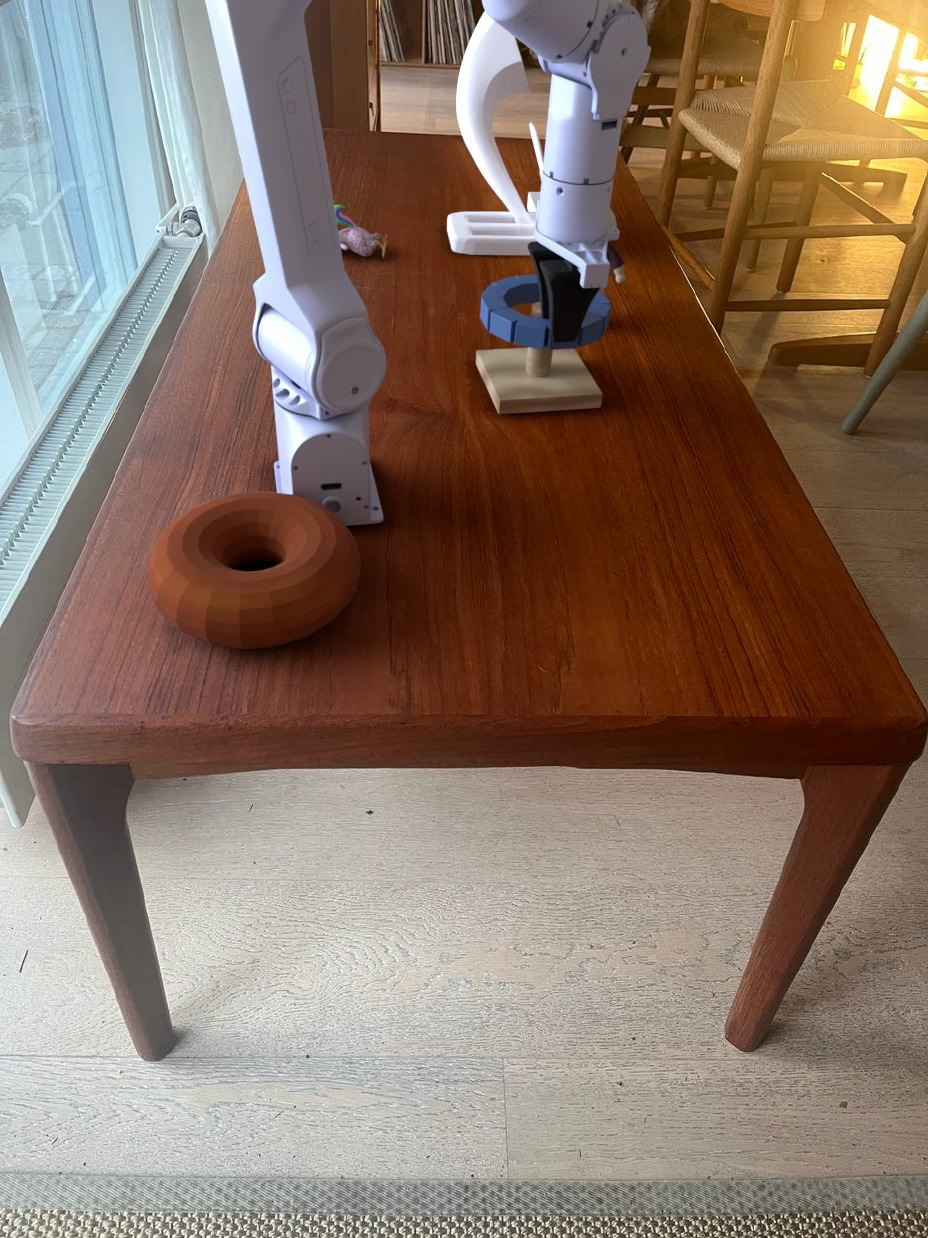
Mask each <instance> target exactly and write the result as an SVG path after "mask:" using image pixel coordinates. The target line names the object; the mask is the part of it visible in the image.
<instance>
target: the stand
mask: <svg viewBox="0 0 928 1238" xmlns="http://www.w3.org/2000/svg"><path fill="white" fill-rule="evenodd" d="M530 316H531V317H537V318H542V315H541V306H540V302H537V303H532V305H531V311H530ZM475 365H476V368H477V370H478V372H479V374H480V376H481V378H482V381H483V383H484V385H485V388H486V389H487V392H488V394H489V396H490V399H491V401H492V403H493V405H494V407H495V409H496V412H497V414H498V415H510V414H525V413H527V414H528V413H540V412H542V413H543V412H555V411H570V410H585V409H600V408H601V407H602V401H603V395H604V393H603V392H602V391H601V388H600V387H599V385H598V384H597V382H596V380H595V379H594V377H593V376H592V374H591V372H590V371H589V369H588V368H587V366H586V364H585V363H584V362H583V359H582V358H581V356H580V355H579V353H578V352H577V350H576V348H573V349H558V350H548V349H547V347H546V346H545V348H544V349H543V350H542V349H537V348H531V347H513V348H496V349H495V348H494V349H477V350H476V352H475Z"/></svg>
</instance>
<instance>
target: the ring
mask: <svg viewBox="0 0 928 1238" xmlns="http://www.w3.org/2000/svg"><path fill="white" fill-rule="evenodd" d="M480 298H481V299H480V313H479V318H480V320H481V322H482V324H483V326H484V328H485V329H486V331H489V334H492V335H493V336H495V337H497V338H499V339H501V340H503V341H506V343H509V344H511V343H513V345H515V346H516V345H517V346H519V347H520V346H521V347H525V348H528V347H531V348H537V349H542V350H543V349H544V348H545V346H546V347H547V349H548V350H558V349H573V348H574V349H578V347H579V348H583V347H585V346H587V345H590V344H592V343H595V342H597V341H599V340H601V338H604V336H605V334H606V332H607V330H608V327H609V323H610V316H611V310H612V305H611V304H612V303H611V302H610V300H609V299H608V297H607V296H606V295H605V293H604V294H603V292H602V291H598V293H597V294H596V296H595V297H594V299H593V301H592V303H591V304H590V306H589V309H588V311H587V313H586V316H585V318H584V321H583V323H582V326H581V328H580V331H579V333H578V336H577V338H576V340H575V341H574V342H557V343H554V342H553V341H552V339H551V334H550V327H549V319H543V318H537V317H531V315H525V314H524V313H521V312H519V311H517V310H515V309H514V307H517V306H520V305H523V304H524V305H525V304H534V303H537V302H540V296H539V287H538V281H537V276H536V274H520V275H515V277H514V276H508V277H506V278H503V279H499V280H497V281H493V282H492V283H491V284H489V285H488V286H487V287H486V289H485V290H484V292H483V293H482V294H481V297H480Z"/></svg>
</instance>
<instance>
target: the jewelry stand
mask: <svg viewBox="0 0 928 1238" xmlns="http://www.w3.org/2000/svg"><path fill="white" fill-rule="evenodd" d="M524 65H525V64H524V62H523V58H522V55H521V52H520V49H519V46H518V42H517V38H516V37H515V36H513V35H512V34H511V33H509V32H508V31H507V30H506V29H504V28H503V27H502V26H500V25H499V24H498V23H497V22H495V21H494V20H493V19H491V18H490V17H489V16H488V15H487V13H486V12H485V10H484V12H482V15H481V16H480V18H479V20H478V23H477V24H476V26H475V28H474V30H473V32H472V35H471V37H470V40H469V42H468V44H467V47H466V49H465V52H464V54H463V58H462V62H461V65H460V69H459V73H458V78H457V85H456V94H455V95H456V99H455V108H456V109H455V110H456V118H457V123H458V126H459V130H460V133H461V137H462V139H463V142H464V144H465V145H466V148H467V150H468V151H469V153H470V155H471V157H472V159H473V161H474V163H475V165H476V166H477V168H478V170H479V172H480V173H481V175H482V177H483V178H484V179H485V181H486V183H487V184H488V185H489V187H490V188H491V189H492V190H493V192H494V193H495V194H496V196H497V197H498V198H499V199H500V200H501V201H502V203H503V204H504V206H505V207H506V208H507V210H508V211H458V212H452V213H449V214H448V215H447V221H446V232H447V236H448V240H449V244H450V249H451V251H452V252H454V253H456V254H464V255H470V256H471V255H472V256H531V255H530V253H529V250H528V244H529V243H530V242H534V241H536V239H535V237H534V230H535V223H536V221H535V219H536V209H537V199H540V192H541V191H528V193H527V194H528V195H527V205H526V206H527V207H526V208H525V205H524V203H523V200H522V199H521V196H520V194H519V193H518V190H517V189H516V186H515V184H514V183H513V181H512V178H511V177H510V175H509V172H508V170H507V168H506V165H505V163H504V161H503V158H502V156H501V153H500V151H499V148H498V144H497V143H496V138H495V134H494V127H493V118H494V113H495V110H496V108H497V106H498V105H499V103H501V101H502V100H504V99H506V98H507V97H509V96H512V95H517V94H518V95H519V94H520V95H521V94H526V95H530V94H531V90H530V86H529V82H528V78H527V74H526V70H525V66H524ZM528 126H529V132H530V136H531V140H532V144H533V148H534V152H535V157H536V161H537V164H538V167H539V171H538V174H539V178H540V182H542V172H543V162H544V152H543V149H542V148H543V147H542V144H541V140H540V138H539V135H538V132H537V129H536V127H535V125H534V123H533V122H529V125H528Z"/></svg>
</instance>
